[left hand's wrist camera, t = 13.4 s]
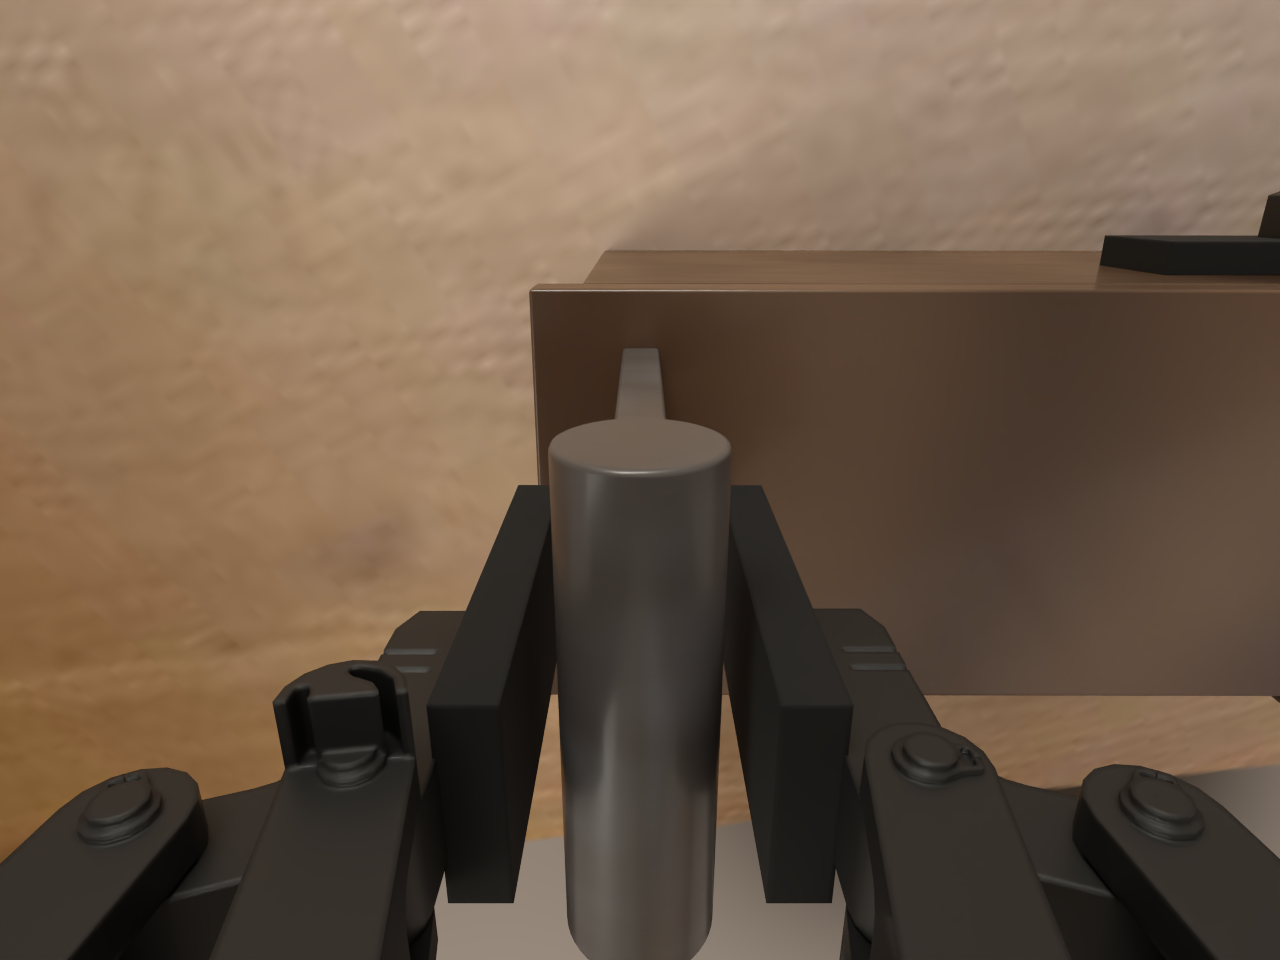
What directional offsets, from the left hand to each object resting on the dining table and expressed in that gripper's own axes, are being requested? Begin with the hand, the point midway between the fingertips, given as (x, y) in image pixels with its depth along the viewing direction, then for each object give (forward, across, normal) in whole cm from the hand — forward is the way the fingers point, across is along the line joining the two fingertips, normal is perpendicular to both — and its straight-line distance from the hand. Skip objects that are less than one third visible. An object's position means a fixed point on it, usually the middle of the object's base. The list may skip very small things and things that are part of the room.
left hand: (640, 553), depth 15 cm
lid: (+3, +7, 0) cm, 8 cm away
